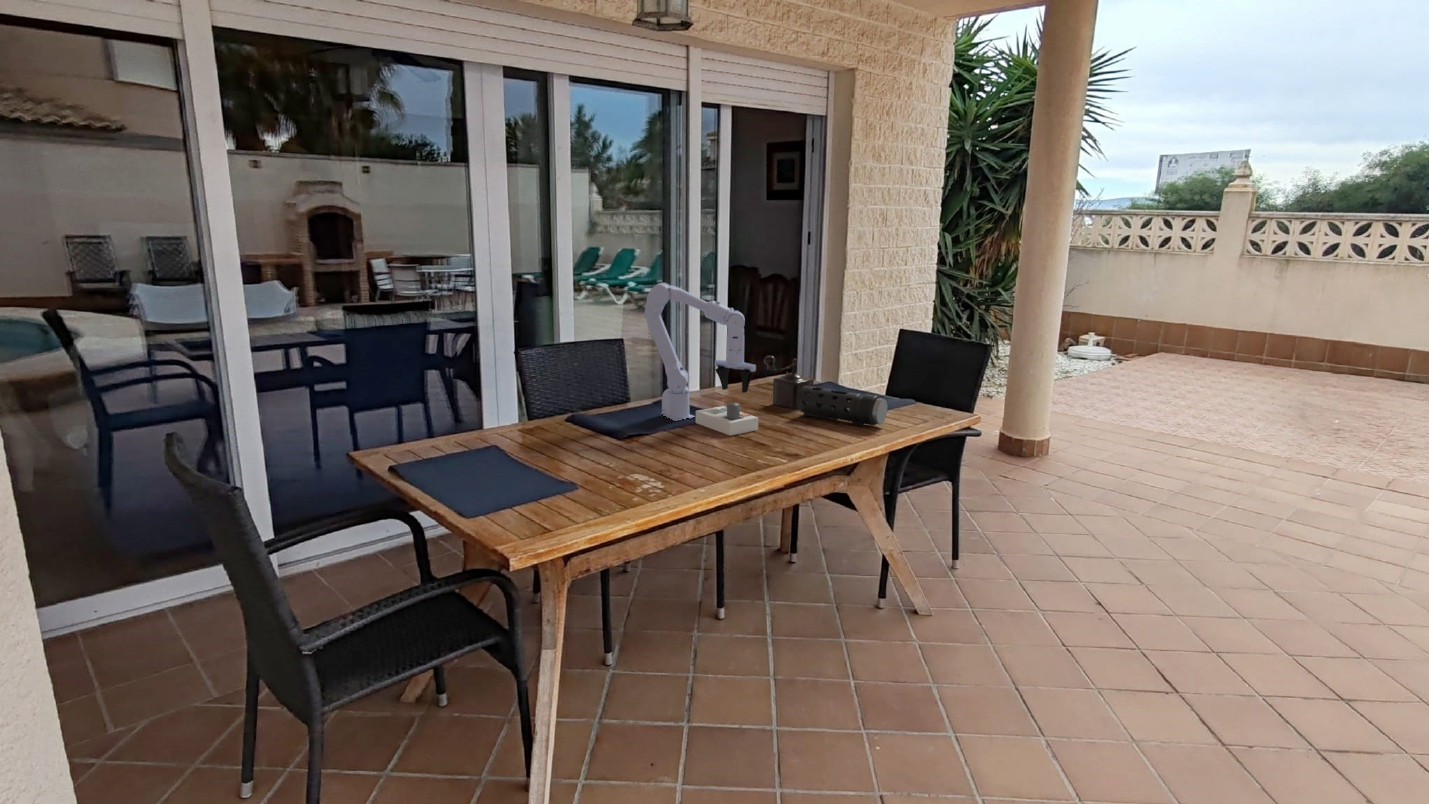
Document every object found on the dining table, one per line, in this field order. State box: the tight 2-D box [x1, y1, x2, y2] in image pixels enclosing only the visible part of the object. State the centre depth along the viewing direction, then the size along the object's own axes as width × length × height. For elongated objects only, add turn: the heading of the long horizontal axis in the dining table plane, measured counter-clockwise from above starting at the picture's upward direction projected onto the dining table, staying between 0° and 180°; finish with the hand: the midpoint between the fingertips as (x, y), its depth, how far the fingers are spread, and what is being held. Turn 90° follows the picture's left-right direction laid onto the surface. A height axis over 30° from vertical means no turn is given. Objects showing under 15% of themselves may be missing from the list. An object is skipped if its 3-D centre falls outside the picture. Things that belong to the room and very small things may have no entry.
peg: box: [726, 401, 741, 421], centre depth 236 cm, size 4×4×8 cm
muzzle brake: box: [797, 386, 888, 426], centre depth 247 cm, size 10×28×10 cm, turn 54°
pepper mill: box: [763, 355, 815, 410], centre depth 266 cm, size 16×11×18 cm
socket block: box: [695, 405, 759, 436], centre depth 241 cm, size 18×11×4 cm, turn 37°
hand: (734, 390), depth 248 cm, fingers open, 7 cm apart
